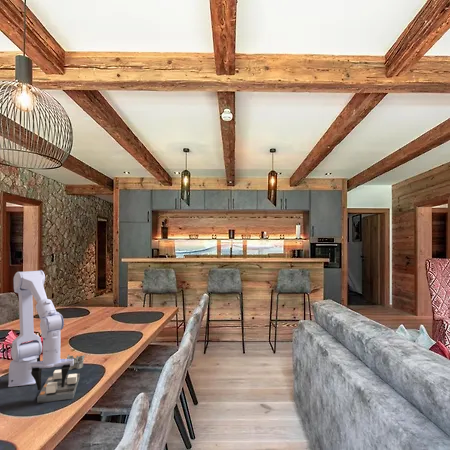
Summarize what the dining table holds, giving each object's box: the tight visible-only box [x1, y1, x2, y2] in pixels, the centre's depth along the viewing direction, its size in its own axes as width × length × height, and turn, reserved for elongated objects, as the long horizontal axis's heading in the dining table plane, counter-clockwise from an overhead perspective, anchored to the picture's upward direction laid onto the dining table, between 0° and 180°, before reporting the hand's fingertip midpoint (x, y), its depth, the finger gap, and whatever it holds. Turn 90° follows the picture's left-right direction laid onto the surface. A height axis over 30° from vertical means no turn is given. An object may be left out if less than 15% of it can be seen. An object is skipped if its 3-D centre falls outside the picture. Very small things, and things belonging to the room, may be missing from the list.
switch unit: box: [36, 373, 81, 404], centre depth 133 cm, size 12×19×2 cm, turn 16°
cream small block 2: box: [67, 373, 78, 384], centre depth 134 cm, size 3×4×2 cm
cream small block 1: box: [46, 382, 57, 394], centre depth 126 cm, size 3×4×2 cm
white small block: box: [52, 368, 62, 379], centre depth 139 cm, size 3×4×2 cm
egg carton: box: [66, 354, 86, 371], centre depth 159 cm, size 11×8×4 cm
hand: (51, 387), depth 126 cm, fingers open, 7 cm apart
